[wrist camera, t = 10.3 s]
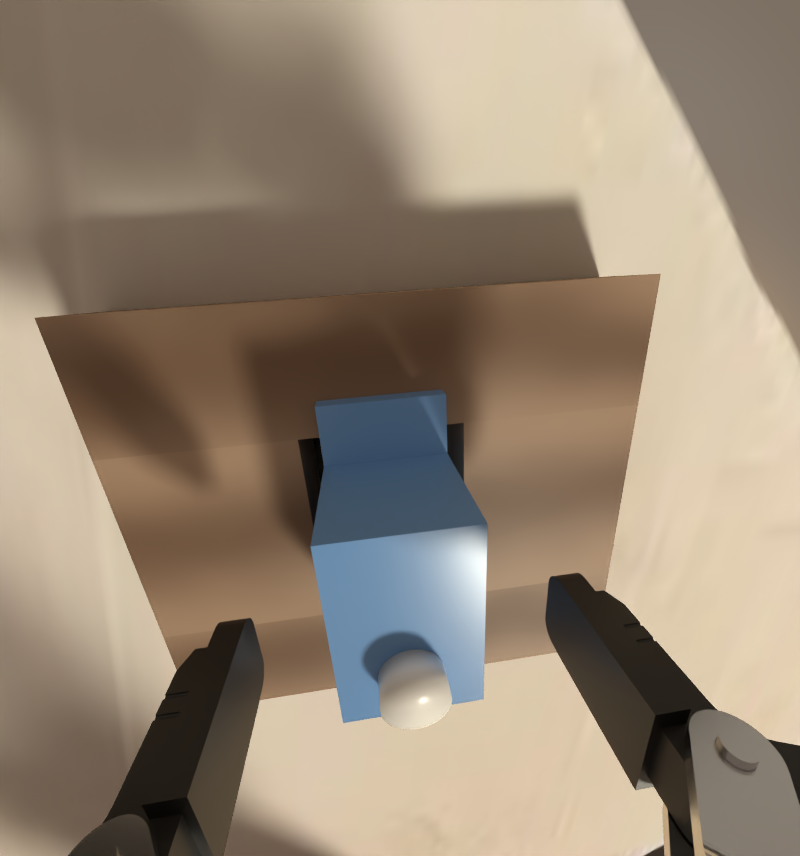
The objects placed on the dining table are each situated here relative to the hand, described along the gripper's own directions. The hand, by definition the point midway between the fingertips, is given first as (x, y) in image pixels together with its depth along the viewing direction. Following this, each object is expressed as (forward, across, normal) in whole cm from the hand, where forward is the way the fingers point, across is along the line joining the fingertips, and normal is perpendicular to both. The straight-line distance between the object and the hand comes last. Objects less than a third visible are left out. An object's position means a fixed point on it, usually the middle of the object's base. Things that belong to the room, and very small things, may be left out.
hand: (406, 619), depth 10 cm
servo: (+7, 0, 0) cm, 7 cm away
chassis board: (+7, 0, 0) cm, 7 cm away
